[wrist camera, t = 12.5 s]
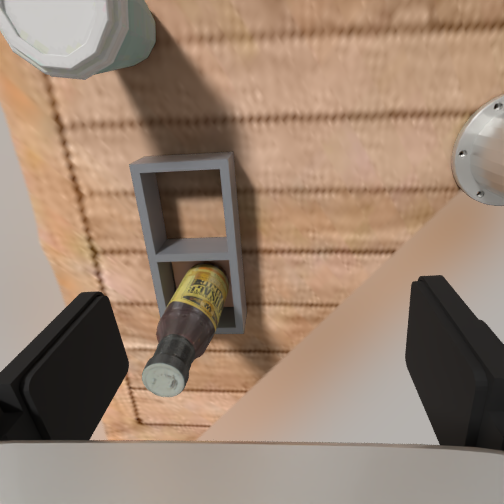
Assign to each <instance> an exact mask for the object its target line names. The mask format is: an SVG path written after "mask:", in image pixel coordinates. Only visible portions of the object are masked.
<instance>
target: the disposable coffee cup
mask: <svg viewBox="0 0 504 504" xmlns="http://www.w3.org/2000/svg"><path fill="white" fill-rule="evenodd" d="M0 31H1V33H2V34H3V36H4V38H5V39H6V41H7V42H8V44H9V46H10V47H11V49H12V50H13V52H14V53H16V54H17V55H19V56H20V57H22V58H23V59H25V60H26V61H27V62H29V63H30V64H32V65H33V66H35V67H36V68H37V69H39V70H40V71H42V72H43V73H45V74H48V75H50V76H52V77H62V78H72V79H83V80H86V79H87V78H89V77H91V76H92V75H95V74H99V73H103V72H108V71H112V70H117V69H121V68H125V67H130V66H134V65H136V64H138V63H139V62H141V61H143V60H145V59H146V58H148V56H149V54H150V52H151V50H152V48H153V46H154V44H155V42H156V29H155V20H154V18H153V16H152V14H151V12H150V10H149V8H148V6H147V4H146V3H145V1H144V0H0Z"/></svg>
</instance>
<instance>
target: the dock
mask: <svg viewBox="0 0 504 504" xmlns="http://www.w3.org/2000/svg"><path fill="white" fill-rule="evenodd" d="M129 167H130V171H131V176H132V181H133V186H134V191H135V196H136V201H137V206H138V211H139V215H140V220H141V225H142V230H143V235H144V240H145V245H146V250H147V255H148V259H149V264H150V269H151V274H152V279H153V284H154V289H155V294H156V299H157V303H158V308H159V313H160V318H161V317H162V316H163V314H164V312H165V309H166V307H167V305H168V304H169V302H170V300H171V299H172V297H173V295H174V294H175V292H176V289H178V287H179V285H180V283H181V282H182V280H183V278H184V276H185V275H186V273H187V272H188V271H189V270H190V269H191V267H192V266H194V265H195V264H198V263H202V262H207V261H208V262H212V263H215V264H217V265H219V266H221V267H222V268H223V269H224V270H225V271H226V273H227V275H228V278H229V291H228V294H227V297H226V300H225V304H224V307H223V310H222V313H221V316H220V319H219V322H218V325H217V328H216V331H215V334H244V330H245V323H246V316H247V307H246V295H245V283H244V271H243V259H242V248H241V236H240V224H239V212H238V200H237V188H236V176H235V164H234V153H233V152H217V153H199V154H181V155H163V156H145V157H143V158H141V159H139V160H137V161H135V162H133V163H131V164H129ZM209 169H220V176H221V186H222V196H223V206H224V216H225V226H226V235H227V237H212V238H183V239H167V236H166V230H165V224H164V219H163V213H162V207H161V202H160V196H159V190H158V185H157V179H156V173H155V172H171V171H190V170H209ZM171 262H172V264H171ZM172 266H173V270H172ZM173 272H174V275H173ZM174 277H175V281H174ZM175 283H176V287H175Z"/></svg>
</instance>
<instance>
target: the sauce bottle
mask: <svg viewBox="0 0 504 504" xmlns="http://www.w3.org/2000/svg"><path fill="white" fill-rule="evenodd" d="M228 291H229V278H228V275H227V273H226V271H225V270H224V269H223V268H222V267H221V266H219V265H217V264H215V263H212V262H208V261H207V262H202V263H198V264H195V265H194V266H192V267H191V269H190V270H189V271H188V272H187V273H186V275H185V276H184V278H183V280H182V282H181V283H180V285H179V287H178V289H177V290H176V292H175V294H174V295H173V297H172V299H171V300H170V302H169V304H168V305H167V307H166V309H165V312H164V314H163V316H162V317H161V318H160V321H159V323H158V327H157V333H156V335H157V340H158V342H159V344H158V346H157V350H156V352H155V353H154V356H153V357H152V358H151V359H150V360H149V361H148V362H147V364H146V366H145V368H144V370H143V373H142V380H143V383H144V385H145V387H146V388H147V389H148V390H149V391H151V392H152V393H154V394H155V395H158V396H161V397H173V396H176V395H178V394H180V393H181V392H182V390H183V389H184V388H185V386H186V383H187V381H188V378H189V370H190V367H191V363H192V362H193V361H194V360H195V359H196V358H198V357H200V356H201V355H202V354H203V353H204V352H205V350H206V348H207V346H208V345H209V343H210V341H211V339H212V338H213V336H214V334H215V331H216V328H217V325H218V322H219V319H220V316H221V313H222V310H223V307H224V304H225V300H226V297H227V294H228Z"/></svg>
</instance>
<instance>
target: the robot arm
mask: <svg viewBox="0 0 504 504" xmlns="http://www.w3.org/2000/svg"><path fill="white" fill-rule="evenodd" d="M495 104H496V107H495V108H494V106H495ZM460 152H462V153H461V154H460V155H459V153H460ZM452 171H453V176H454V178H455V180H456V182H457V184H458V186H459V187H460V188H461V190H462V191H463V192H465V193H466V194H467V195H468V196H469V197H471V198H473V199H474V200H476V201H479V202H481V203H484V204H488V205H494V206H504V94H502V95H500V96H498V97H495V98H493V99H492V100H490V101H489V102H487V103H486V104H484V105H483V106H482V107H480V108H479V109H478V110H477V111H476V112H475V113H474V114H473V115H472V116H471V117H470V118H469V119H468V121H467V122H466V123H465V124H464V126H463V128H462V129H461V131H460V132H459V134H458V137H457V139H456V141H455V144H454V148H453V152H452ZM477 192H478V194H477ZM405 359H406V365H407V368H408V370H409V373H410V375H411V378H412V380H413V383H414V385H415V387H416V390H417V392H418V394H419V397H420V399H421V401H422V404H423V406H424V408H425V411H426V413H427V415H428V418H429V420H430V422H431V425H432V427H433V430H434V432H435V434H436V437H437V439H438V441H439V444H440V445H423V444H383V443H334V442H333V443H332V442H331V443H330V442H264V441H263V442H262V441H261V442H260V441H154V440H89V439H90V438H91V436H92V434H93V432H94V431H95V429H96V427H97V425H98V424H99V422H100V420H101V418H102V416H103V415H104V413H105V411H106V409H107V408H108V406H109V404H110V402H111V401H112V399H113V397H114V395H115V393H116V392H117V390H118V388H119V386H120V385H121V383H122V381H123V379H124V377H125V376H126V374H127V372H128V368H129V362H128V358H127V355H126V352H125V348H124V345H123V342H122V339H121V336H120V332H119V329H118V326H117V323H116V320H115V317H114V313H113V310H112V307H111V304H110V301H109V298H108V297H107V296H104V295H103V293H102V292H82V293H80V294H79V295H78V296H77V297H76V298H75V299H74V300H73V301H72V302H71V303H70V304H69V305H68V306H67V307H66V308H65V309H64V310H63V311H62V312H61V313H60V314H59V315H58V316H57V317H56V318H55V319H54V320H53V321H52V322H51V323H50V324H49V325H48V326H47V327H46V328H45V329H44V330H43V331H42V332H41V333H40V334H39V335H38V336H37V337H36V338H35V339H34V340H33V341H32V342H31V343H30V344H29V345H28V346H27V347H26V348H25V349H24V350H23V351H22V352H21V353H19V354H18V356H17V357H15V358H14V360H13V361H11V363H9V364H8V365H7V366H6V367H5V368H4V369H3V370H2V371H1V372H0V504H504V344H503V343H502V342H501V341H500V340H499V339H498V338H497V336H496V335H495V334H494V333H493V332H492V330H491V329H490V328H489V327H488V325H487V324H486V323H485V322H483V321H482V320H479V319H478V318H477V317H476V316H475V315H474V313H473V312H472V311H471V310H470V309H469V307H468V306H467V305H466V304H465V303H464V301H463V300H462V299H461V298H460V296H459V295H458V294H457V293H456V292H455V290H454V289H453V288H452V287H451V285H450V284H449V283H448V282H447V281H446V279H445V278H444V277H443V276H441V275H436V276H420V277H419V279H418V281H415V282H412V285H411V295H410V307H409V319H408V330H407V342H406V354H405Z"/></svg>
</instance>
